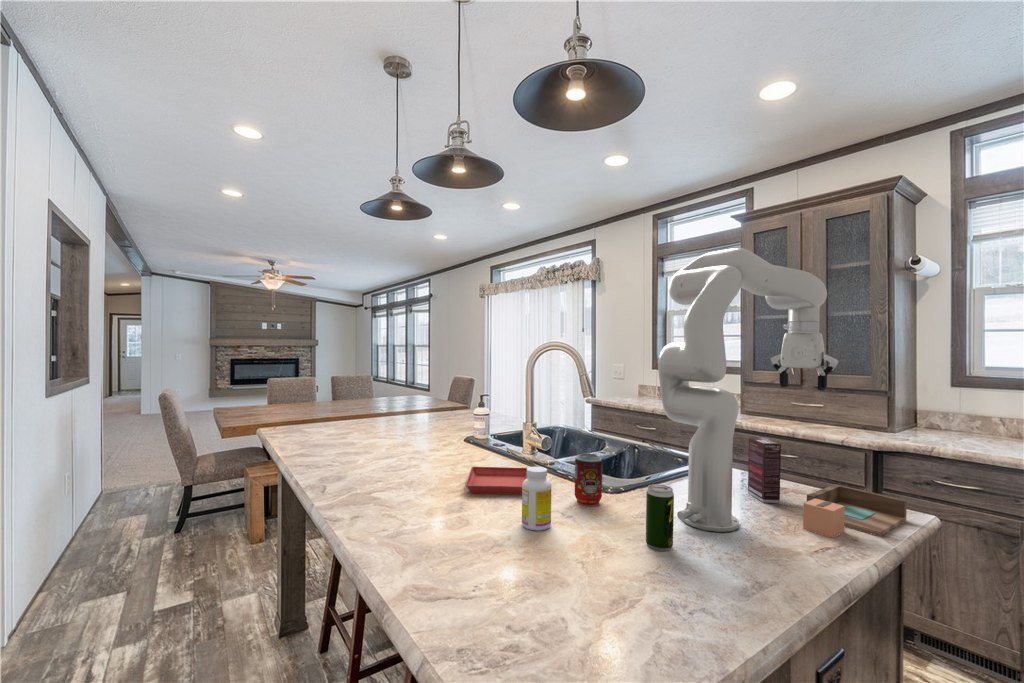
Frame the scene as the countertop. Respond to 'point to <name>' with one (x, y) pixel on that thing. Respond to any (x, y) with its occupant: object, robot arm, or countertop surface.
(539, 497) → the supplement bottle
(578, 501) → the soda can
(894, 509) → the corner board
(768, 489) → the supplement box
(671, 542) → the beer can
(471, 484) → the plant saucer
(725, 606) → the countertop surface
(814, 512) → the brown box
